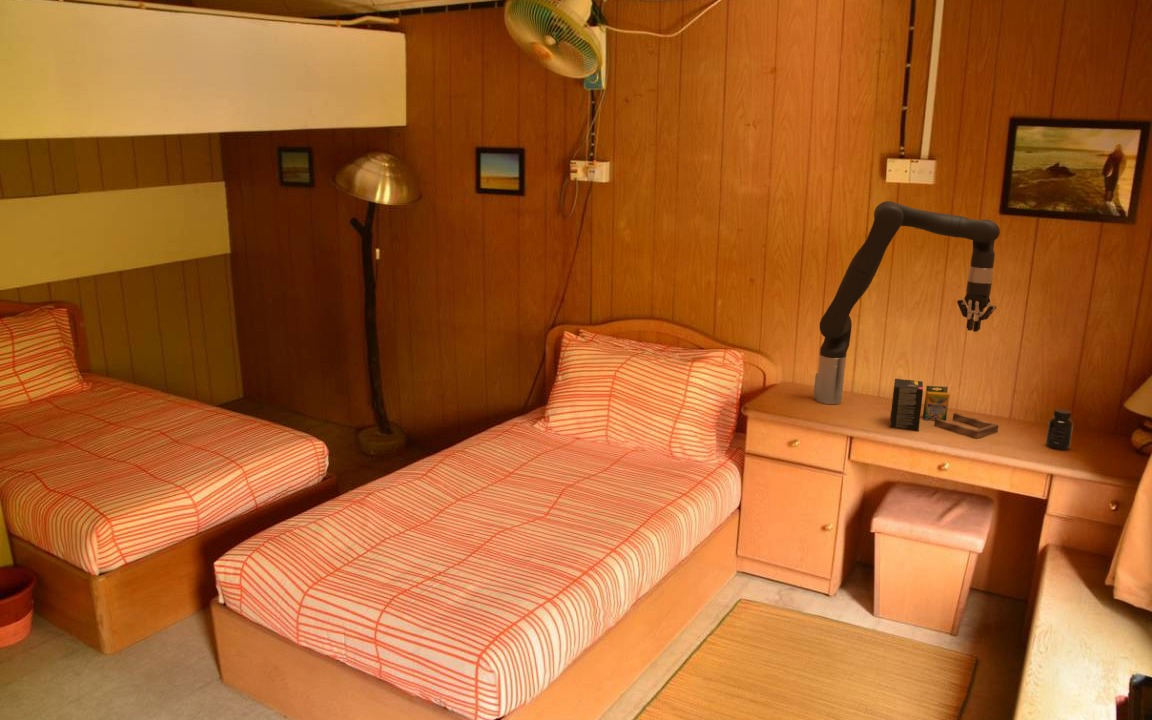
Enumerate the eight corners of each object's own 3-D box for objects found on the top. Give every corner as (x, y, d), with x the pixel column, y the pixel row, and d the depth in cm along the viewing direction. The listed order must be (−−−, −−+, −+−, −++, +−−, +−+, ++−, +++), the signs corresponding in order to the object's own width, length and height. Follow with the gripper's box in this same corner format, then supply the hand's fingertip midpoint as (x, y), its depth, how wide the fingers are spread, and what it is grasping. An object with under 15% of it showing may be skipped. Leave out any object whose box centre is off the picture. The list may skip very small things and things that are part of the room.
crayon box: (924, 420, 315) (928, 387, 312) (922, 417, 318) (926, 385, 315) (946, 421, 315) (950, 389, 312) (943, 418, 318) (948, 386, 315)
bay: (934, 425, 310) (934, 419, 309) (954, 419, 317) (955, 412, 316) (976, 439, 298) (977, 432, 297) (997, 431, 305) (998, 425, 304)
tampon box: (918, 431, 304) (924, 389, 300) (889, 428, 307) (894, 386, 303) (918, 421, 314) (923, 380, 310) (889, 418, 317) (894, 377, 313)
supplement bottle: (1048, 441, 297) (1054, 406, 294) (1071, 446, 293) (1077, 410, 290) (1043, 447, 292) (1048, 411, 289) (1066, 452, 288) (1072, 415, 285)
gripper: (954, 278, 310) (948, 328, 314) (993, 284, 299) (985, 336, 304) (967, 276, 314) (960, 325, 319) (1005, 282, 304) (997, 333, 308)
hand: (972, 330), depth 311 cm, fingers closed
